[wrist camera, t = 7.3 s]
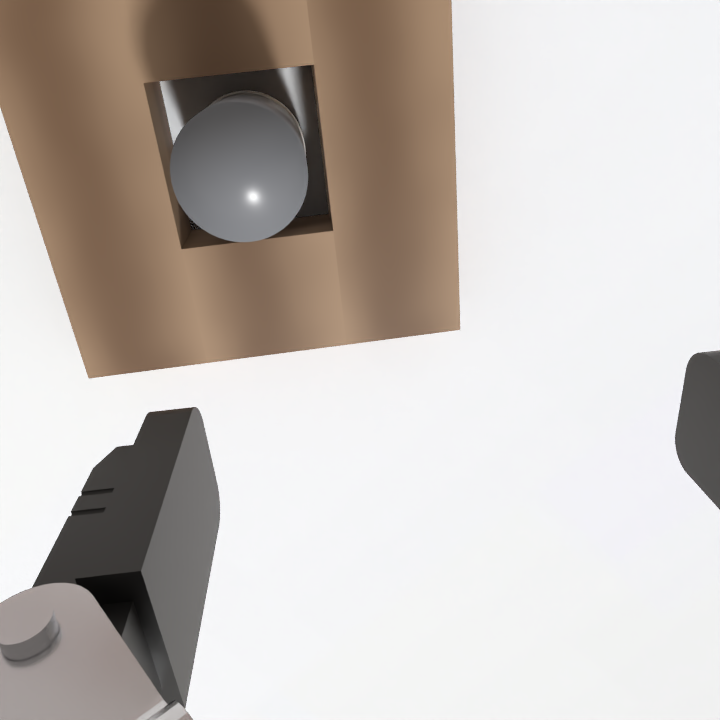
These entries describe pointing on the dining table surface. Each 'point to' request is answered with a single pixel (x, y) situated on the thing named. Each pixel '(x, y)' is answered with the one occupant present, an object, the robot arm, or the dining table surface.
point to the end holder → (170, 222)
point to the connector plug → (241, 167)
